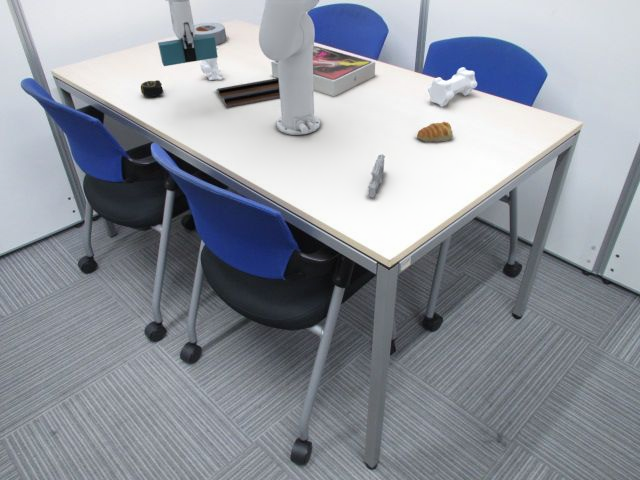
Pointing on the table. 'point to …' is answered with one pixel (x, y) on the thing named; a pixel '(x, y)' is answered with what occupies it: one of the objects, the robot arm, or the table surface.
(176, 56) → the teal bar
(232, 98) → the holder board
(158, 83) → the tape measure
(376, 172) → the garden wall model
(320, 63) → the product packaging
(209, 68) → the white animal statuette
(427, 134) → the pastry
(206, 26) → the tape roll
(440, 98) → the bone shaped toy
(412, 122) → the table surface
